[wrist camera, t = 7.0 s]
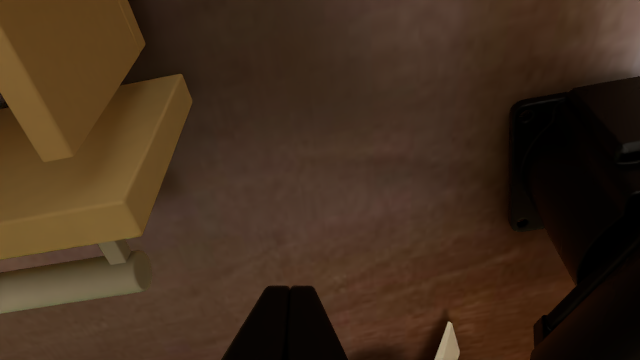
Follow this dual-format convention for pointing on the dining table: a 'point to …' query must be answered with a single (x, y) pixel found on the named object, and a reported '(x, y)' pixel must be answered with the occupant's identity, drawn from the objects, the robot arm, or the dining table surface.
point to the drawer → (79, 148)
